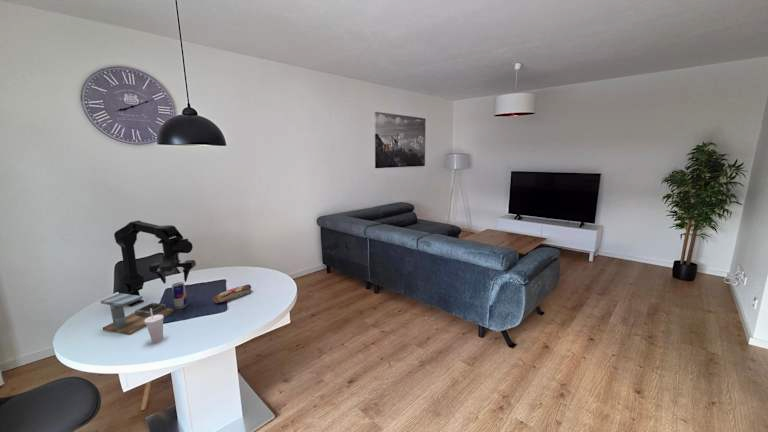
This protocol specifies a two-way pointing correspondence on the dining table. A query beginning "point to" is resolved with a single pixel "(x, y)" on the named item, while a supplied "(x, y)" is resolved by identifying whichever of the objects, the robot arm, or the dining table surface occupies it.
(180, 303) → the energy drink
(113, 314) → the socket board
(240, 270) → the dining table surface
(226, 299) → the pencil case
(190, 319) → the dining table surface
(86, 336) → the dining table surface
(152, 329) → the smoothie
